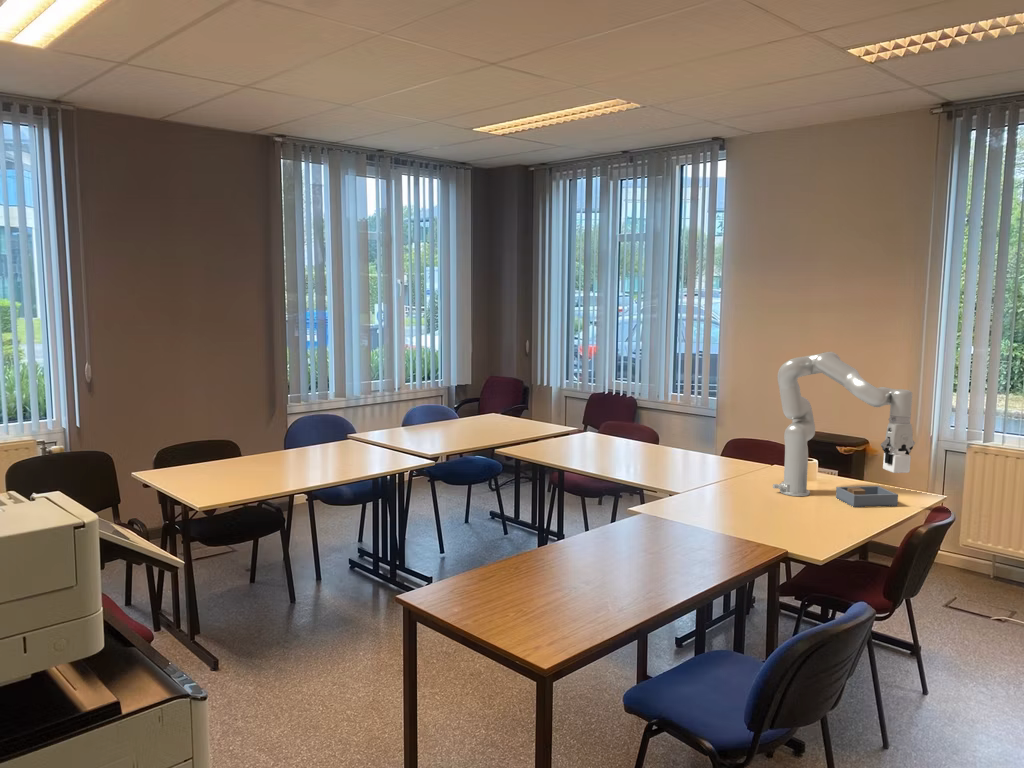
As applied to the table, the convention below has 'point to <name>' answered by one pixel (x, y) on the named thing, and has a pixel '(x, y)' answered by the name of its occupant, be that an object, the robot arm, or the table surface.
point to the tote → (868, 496)
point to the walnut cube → (856, 491)
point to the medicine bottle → (898, 461)
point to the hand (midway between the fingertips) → (896, 462)
